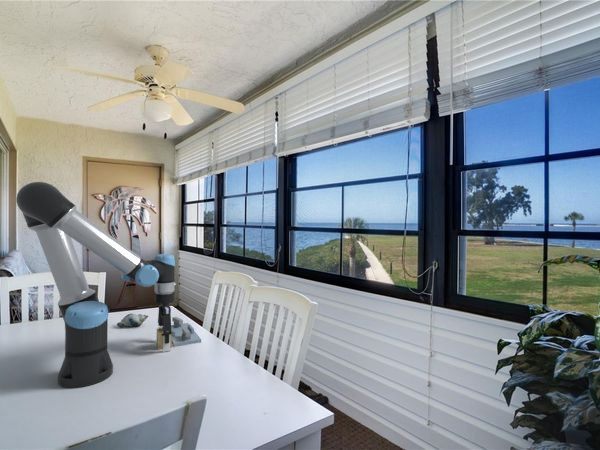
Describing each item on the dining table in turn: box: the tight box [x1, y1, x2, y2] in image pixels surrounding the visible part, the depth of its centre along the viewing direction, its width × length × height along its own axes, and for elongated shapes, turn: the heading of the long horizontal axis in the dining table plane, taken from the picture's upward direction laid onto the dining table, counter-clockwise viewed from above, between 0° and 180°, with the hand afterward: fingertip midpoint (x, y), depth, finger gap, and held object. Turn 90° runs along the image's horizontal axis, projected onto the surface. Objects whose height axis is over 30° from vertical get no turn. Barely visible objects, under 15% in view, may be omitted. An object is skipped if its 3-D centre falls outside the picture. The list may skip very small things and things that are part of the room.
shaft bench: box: [171, 316, 202, 348], centre depth 150 cm, size 26×11×5 cm, turn 30°
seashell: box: [116, 313, 149, 328], centre depth 161 cm, size 6×8×12 cm
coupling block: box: [156, 327, 173, 351], centre depth 136 cm, size 5×5×8 cm
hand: (164, 346), depth 136 cm, fingers open, 11 cm apart
